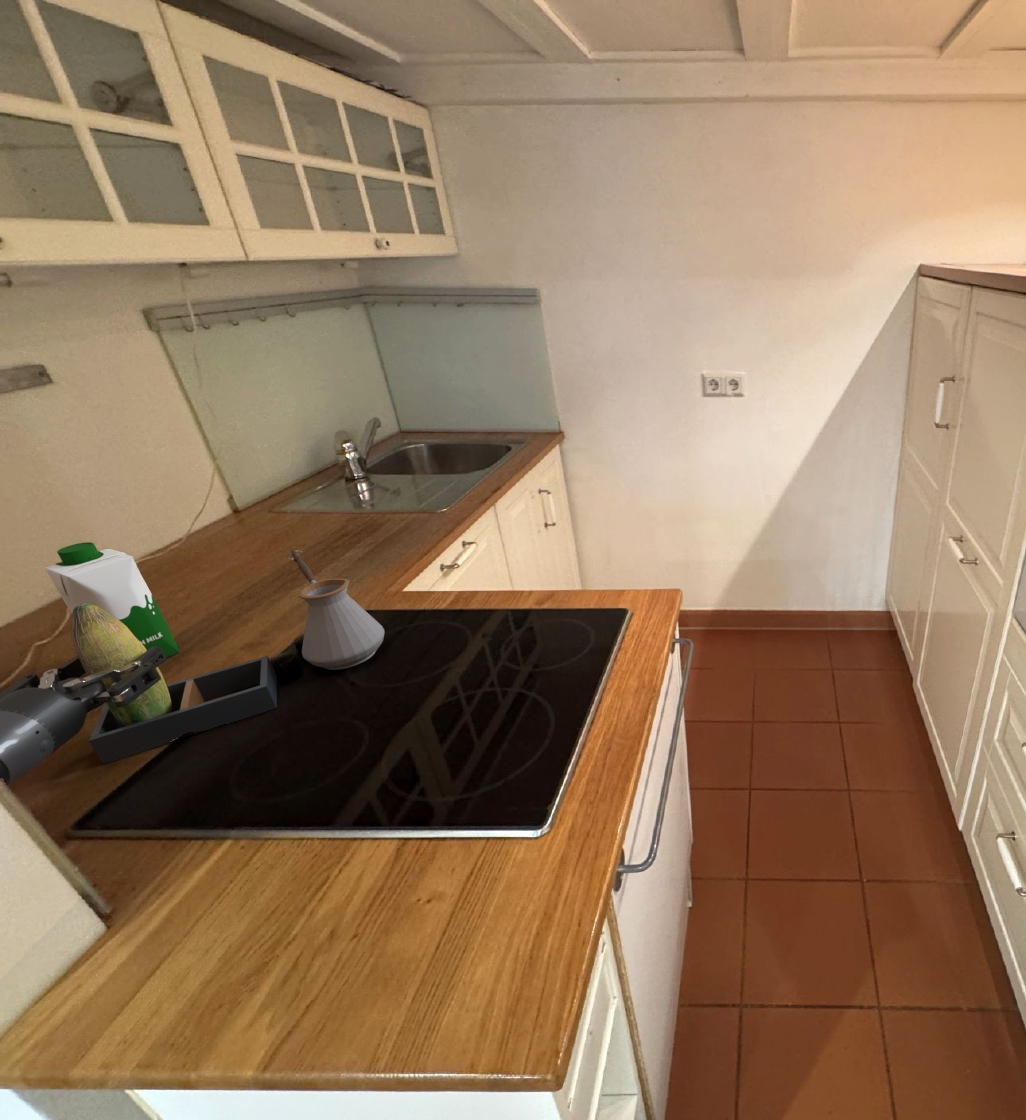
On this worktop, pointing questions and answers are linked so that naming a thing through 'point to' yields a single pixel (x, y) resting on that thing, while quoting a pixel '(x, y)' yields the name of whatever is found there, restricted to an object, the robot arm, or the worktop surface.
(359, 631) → the coffee pot
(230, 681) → the divided tray
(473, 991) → the worktop surface
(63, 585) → the milk carton
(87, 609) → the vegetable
